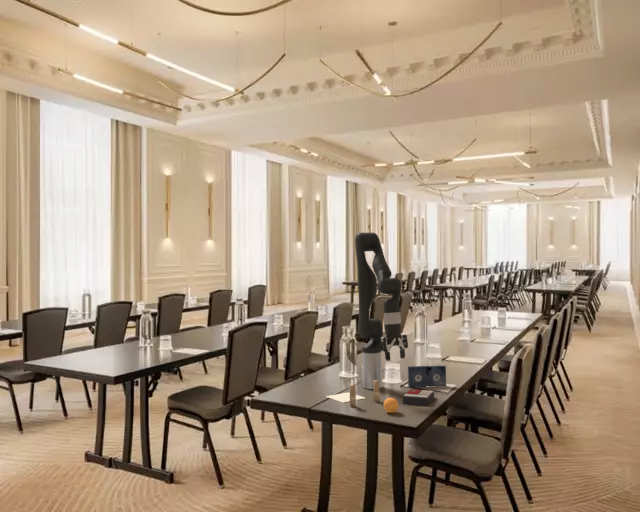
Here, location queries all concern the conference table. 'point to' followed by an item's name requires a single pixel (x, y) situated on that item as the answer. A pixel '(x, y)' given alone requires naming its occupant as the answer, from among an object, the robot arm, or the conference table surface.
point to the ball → (391, 405)
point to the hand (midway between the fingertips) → (395, 359)
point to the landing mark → (344, 397)
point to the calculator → (418, 397)
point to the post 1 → (352, 395)
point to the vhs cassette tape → (426, 376)
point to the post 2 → (376, 391)
